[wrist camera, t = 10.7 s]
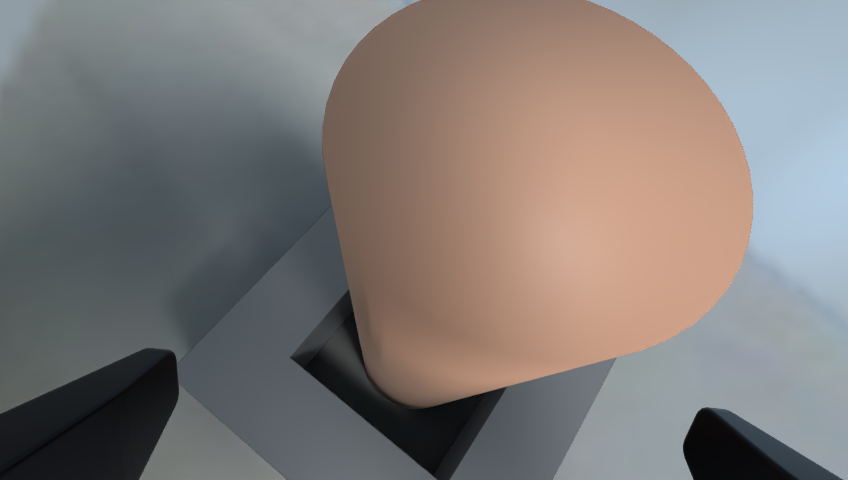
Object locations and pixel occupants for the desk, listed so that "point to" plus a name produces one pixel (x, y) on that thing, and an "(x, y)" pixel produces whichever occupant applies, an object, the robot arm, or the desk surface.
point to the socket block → (332, 417)
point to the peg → (525, 193)
